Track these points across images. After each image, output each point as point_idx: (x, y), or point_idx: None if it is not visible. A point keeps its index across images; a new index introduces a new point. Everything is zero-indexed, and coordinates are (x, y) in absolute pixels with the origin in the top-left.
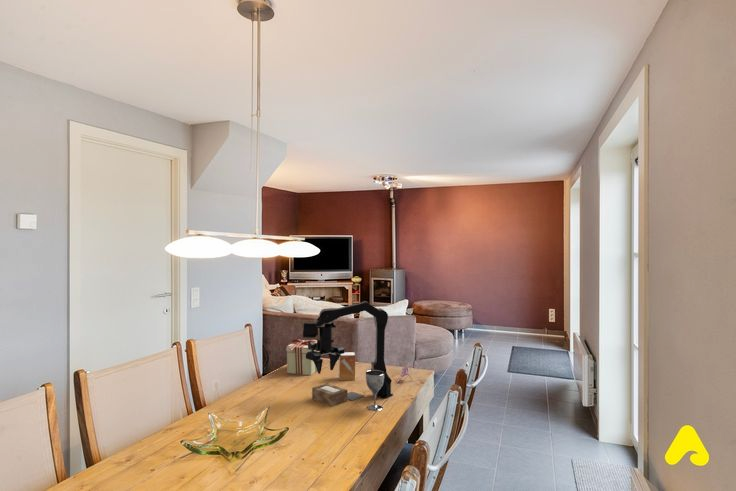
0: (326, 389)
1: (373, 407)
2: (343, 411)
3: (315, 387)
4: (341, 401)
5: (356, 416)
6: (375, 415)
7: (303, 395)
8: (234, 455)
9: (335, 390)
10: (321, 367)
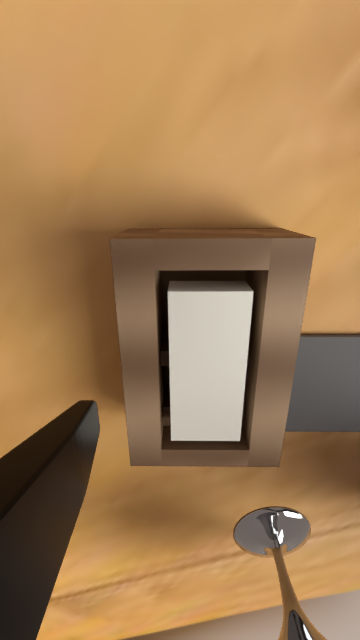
0: (178, 362)
1: (257, 544)
2: (141, 478)
3: (141, 253)
4: None
5: (145, 535)
6: (207, 568)
7: (126, 97)
8: None
9: (210, 423)
10: (50, 590)
